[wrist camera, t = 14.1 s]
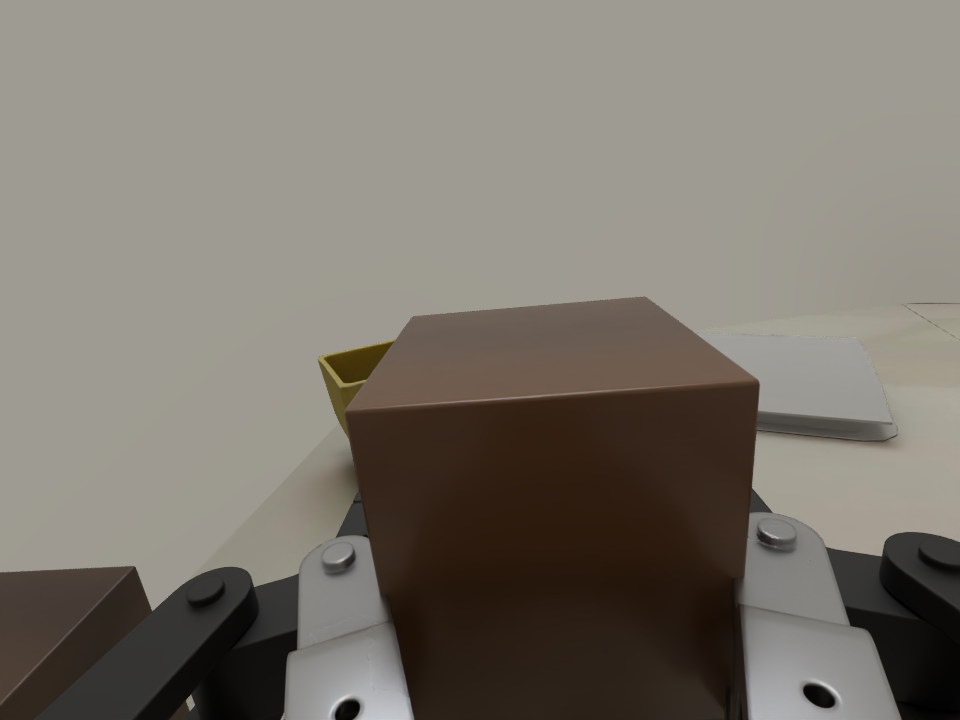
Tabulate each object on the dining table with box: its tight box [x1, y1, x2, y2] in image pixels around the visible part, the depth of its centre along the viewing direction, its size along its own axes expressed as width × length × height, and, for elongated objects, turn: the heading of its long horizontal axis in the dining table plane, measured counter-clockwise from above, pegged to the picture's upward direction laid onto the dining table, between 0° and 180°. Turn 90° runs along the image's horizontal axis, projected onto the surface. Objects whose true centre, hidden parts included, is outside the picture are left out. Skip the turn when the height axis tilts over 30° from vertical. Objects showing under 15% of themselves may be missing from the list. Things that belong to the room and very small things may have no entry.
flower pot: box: [318, 340, 395, 438], centre depth 39 cm, size 9×9×9 cm
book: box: [696, 333, 897, 441], centre depth 47 cm, size 15×23×4 cm, turn 65°
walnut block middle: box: [344, 297, 760, 720], centre depth 10 cm, size 5×5×10 cm
